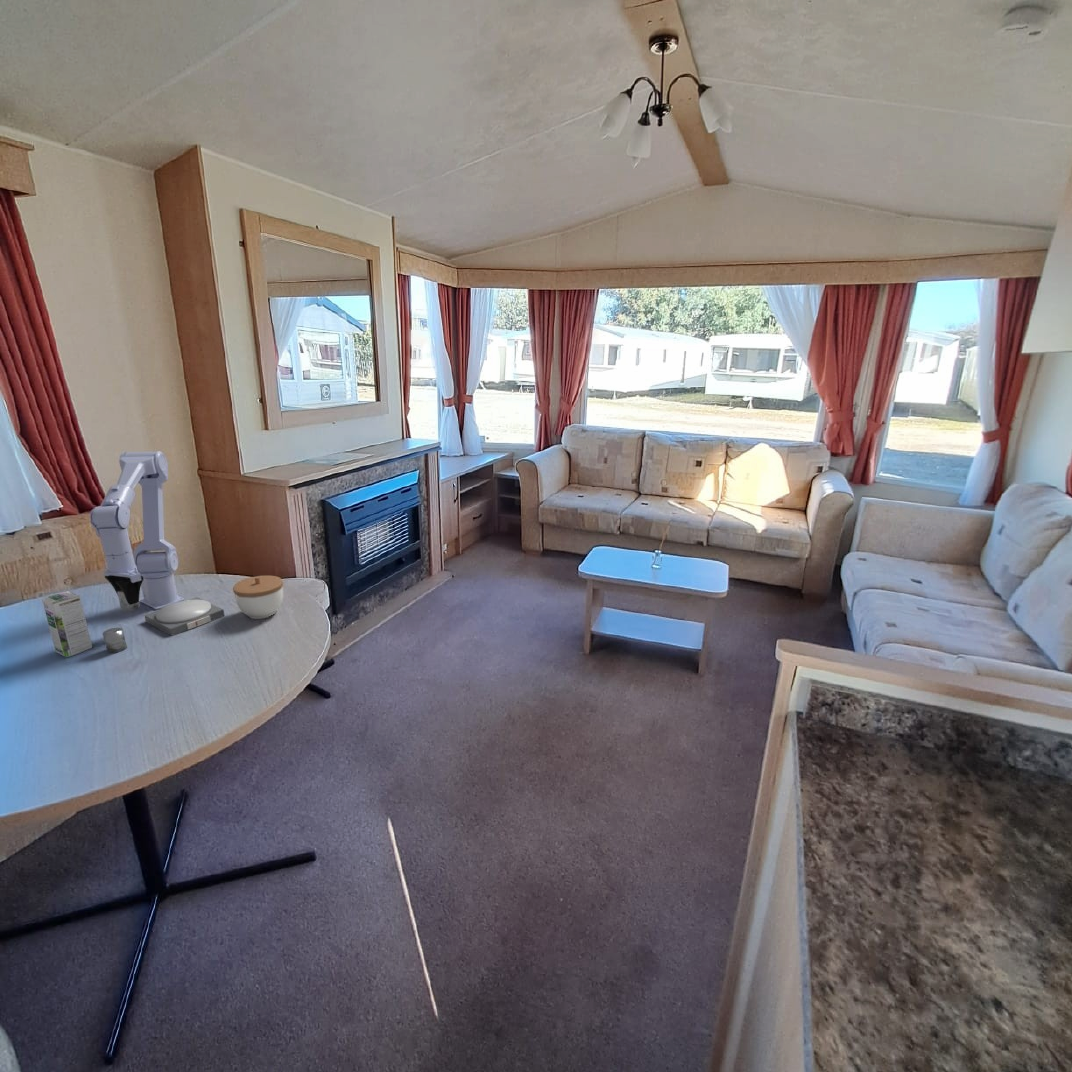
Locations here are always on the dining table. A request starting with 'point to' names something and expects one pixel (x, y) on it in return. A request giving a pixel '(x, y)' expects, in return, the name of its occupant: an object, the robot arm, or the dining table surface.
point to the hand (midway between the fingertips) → (129, 601)
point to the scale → (184, 615)
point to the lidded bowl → (259, 596)
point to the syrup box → (67, 623)
